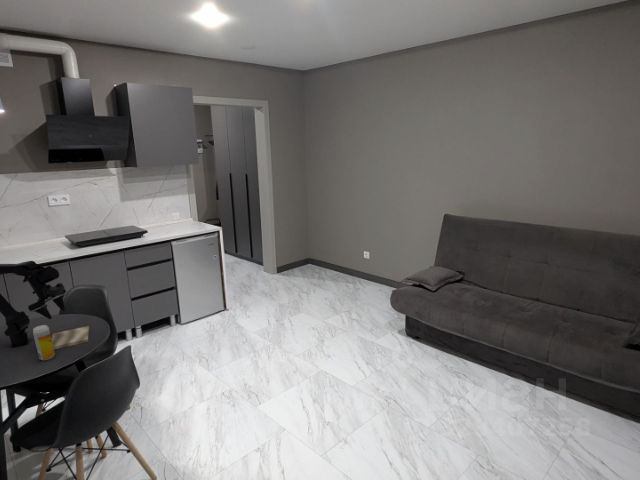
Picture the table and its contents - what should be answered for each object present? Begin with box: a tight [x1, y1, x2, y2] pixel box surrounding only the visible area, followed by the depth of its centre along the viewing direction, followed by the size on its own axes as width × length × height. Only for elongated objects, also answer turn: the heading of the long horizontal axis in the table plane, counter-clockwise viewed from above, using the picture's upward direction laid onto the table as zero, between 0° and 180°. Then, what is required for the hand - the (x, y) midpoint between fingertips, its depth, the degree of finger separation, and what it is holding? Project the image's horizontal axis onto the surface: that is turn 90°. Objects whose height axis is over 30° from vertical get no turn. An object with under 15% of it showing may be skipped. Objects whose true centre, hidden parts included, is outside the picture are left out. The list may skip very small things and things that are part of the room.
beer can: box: [32, 324, 56, 361], centre depth 183 cm, size 6×6×15 cm
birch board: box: [51, 325, 90, 350], centre depth 201 cm, size 16×16×2 cm
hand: (57, 314), depth 194 cm, fingers open, 9 cm apart
